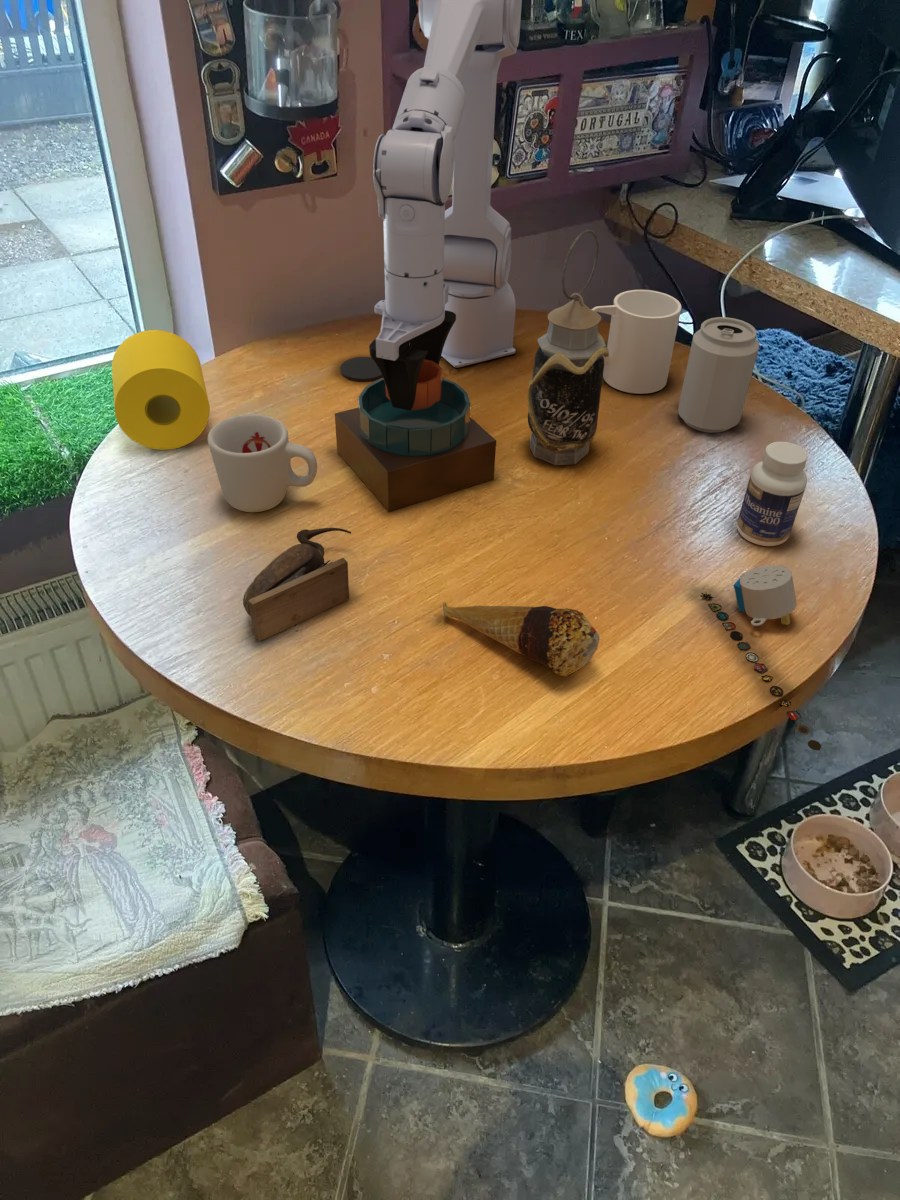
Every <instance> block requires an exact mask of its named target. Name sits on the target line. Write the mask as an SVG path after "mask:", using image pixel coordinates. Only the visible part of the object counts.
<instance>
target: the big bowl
mask: <svg viewBox="0 0 900 1200" xmlns="http://www.w3.org/2000/svg"><path fill="white" fill-rule="evenodd" d="M417 383H420V382H417ZM357 402H358V403H357V405H358V407H359V424H360V432H361V434H362V436H363V437H364V439H365V440H366V441H367V442H368V443H369V444H371V445H372V446H374V447H376V448H378V449H380V450H382V451H385V452H388V453H392V454H397V455H404V456H426V455H433V454H437V453H441V452H444V451H447V450H449V449H452V448H454V447H455V446H457V445H458V444H460V443H461V442H462V441H463V440H464V439H465V437H466V436H467V433H468V429H469V426H470V417H471V405H472V404H471V399H470V396H469V393H468V392H467V391H466V389H464V388H463V387H461V385H459V384H458V383H456V382H455V381H452V380H450V379H447V378H444V377H442V395H441V399H440V401H438V402H436V403H435V404H434V405H433V406H431V407H429V408H426V409H421V410H404V409H400V408H395V407H393V406H392V404H391V401H390V400H389V399H388V398H387V397H386V388H385V381H384V378H383V377H381V378H379V379H376V380H374V381H372V383H370V384H368V385H366V386H365V387H364V388H363V390H362V391H361V392H360V394H359V395H358V396H357ZM358 407H357V408H358Z"/></svg>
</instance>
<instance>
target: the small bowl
mask: <svg viewBox="0 0 900 1200" xmlns="http://www.w3.org/2000/svg"><path fill="white" fill-rule="evenodd" d="M443 374H444V373H443V367H441V366H440V364H439V365H438V364H437V363H436V362H433V361H431V360H427V359H424V361H423V364H422V366H421V369H420V372H419V376H418V381H417V382H420V383H417V389H416V396H415V401H414V405H413V408H412V409H411V410H421V409H426V408H429V407H431V406H433V405H434V404H435V403H436V402H438V401H440V399H441V395H442V378H443ZM385 388H386V397H387V398H388V399H389V400H390V397H389V394H388V390H387V387H386V384H385Z"/></svg>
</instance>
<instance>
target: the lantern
mask: <svg viewBox="0 0 900 1200" xmlns="http://www.w3.org/2000/svg"><path fill="white" fill-rule="evenodd" d="M587 233H590V234H591V235H593V237H594V241H595V257H594V258H595V259H594V263H593V267H592V270H591V273H590V276H589V277H588V280H587V281H586V284H585V285H584V287H583V288H582V289H581V291H580V292H574V293H572V294H571V295H568V293H567V291H566V286H565V279H566V277H565V275H566V270H567V265H568V262H569V258H570V256H571V253H572V251H573V249H574V248H575V245H576V243H577V242H578V241H579V240H580V239H581V238H582V237H583V236H584V235H585V234H587ZM599 245H600V244H599V238H598V236H597V234H596V233H595V231H594V230H592V229H586V230H583V231H581V233H579V234H578V236H576V237H575V239H574V240H573V242H572V244H571V245H570V247H569V249H568V252H567V254H566V257H565V260H564V264H563V268H562V274H561V288H562V292H563V295H564V297H565V298H566V299H568V301H569V302H567V303H566V304H564V305H562V306H559V307H557V308H554V309H553V310H551V311H549V313H548V314H547V320H548V321H549V322H548V327H547V332H546V333H545V334H543V335H541V336H540V337H538V338H537V343H538V345H539V347H538V348H537V350H536V352H535V355H534V361H533V362H534V363H533V369H532V377H531V378H530V379H529V381H528V385H529V386H528V389H527V394H526V395H527V397H526V398H527V399H526V400H527V424H528V427H529V429H530V432H531V435H530V438H529V448H530V450H531V453H532V455H533V457H535V458H536V459H539V460H541V461H544V462H547V463H549V464H551V465H554V466H566V465H576V464H577V463H578V462H579V461H581V460H582V459H583V458H584V457H586V456H587V455H588V454H589V451H590V444H591V442H592V441H593V440H594V437H595V434H596V433H597V429H598V421H599V413H600V412H599V411H600V403H601V393H602V385H603V371H604V357H603V355H604V356H605V357H608V355H609V351H608V349H606V345H605V339H604V337H603V336H602V334H601V333H599V323H600V322H601V320H602V316H601V315H600V314H599V312H595V311H593V310H591V309H592V308H590V307H588V306H587V305H586V304H585V303H584V298H583V297H582V295H583V293H584V292H585V291H586V290H587V288H588V287H589V285H590V283H591V281H592V279H593V276H594V274H595V270H596V267H597V265H598V264H597V263H598V260H599V251H600V250H599V249H600V248H599Z"/></svg>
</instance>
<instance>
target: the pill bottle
mask: <svg viewBox="0 0 900 1200" xmlns="http://www.w3.org/2000/svg"><path fill="white" fill-rule="evenodd" d="M807 460H808V452H807V451H806V450H805V449H804V448H803V447H802V446H800V445H798V444H796V443H792V442H788V441H774V442H771V443H769V444H767V445H766V446H765V450H764V452H763V455H762V460H761V461H760V460H759V462H757V463H756V464H755V465H754V466H753V468H752V470H751V472H750V474H749V479H748V482H747V486H746V489H745V494H744V497H743V500H742V504H741V508H740V510H739V514H738V517H737V521H736V529H737V531H738V533H739V534H740V536H741V537H742V538H744V539H745V540H747V541H748V542H749V543H753V544H755V545H759V546H761V547H762V546H763V547H774V546H779V545H782V544H784V543H786V541H787V540H788V539H789V537H790V535H791V532H792V529H793V526H794V524H795V521H796V517H797V515H798V513H799V508H800V506H801V503H802V500H803V497H804V494H805V491H806V489H807V484H808V476H807V474H806V471H804V469H805V468H806V466H807V465H806V464H807Z"/></svg>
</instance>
